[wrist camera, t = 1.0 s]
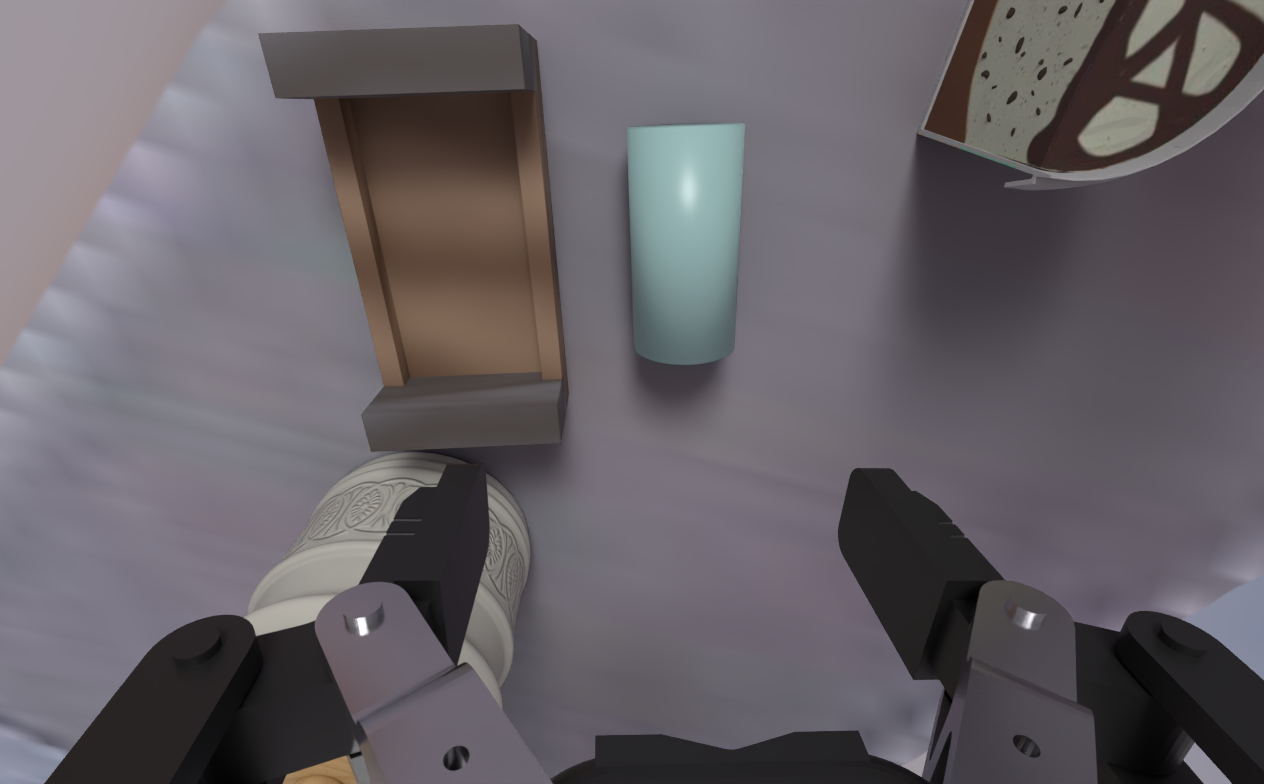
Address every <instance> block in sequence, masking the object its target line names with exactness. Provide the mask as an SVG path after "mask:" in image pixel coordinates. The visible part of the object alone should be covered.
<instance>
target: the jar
mask: <svg viewBox="0 0 1264 784" xmlns="http://www.w3.org/2000/svg"><path fill="white" fill-rule="evenodd" d="M449 463H457V464H469V463H467V462H464V461H462V460H459V459H456V458H453V457H449V456H445V455H440V454H434V453H426V452H404V453H396V454H391V455H386V456H382V457H379V458H376V459H373V460H371V461H369V462H367V463H365V464H363V465H361V466H359V467H358V468H356V469H355V470H353V471H352V472H351V473H350V474H348V475H347V476H346V477H344V478H343V479H341V480H340V481H339V482H338V483H336V484H335V485H334V486H333V487H332V488H331V489H330V490H329V491H328V492H327V494H326V495H325V496H324V498H323V499H322V500H321V501H320V503H319V504H318V505H317V507H316V508H315V510H314V512H313V514H312V515H311V518H310V520H309V523H308V525H307V526H306V528H305V529H304V530H303V532H302V533H301V534H300V536H299V537H298V539H297V540H296V541H295V543H294V544H293V545H292V547H291V548H290V550H289V551H288V552H287V554H286V555H285V556H284V558H283V559H282V560H281V562H280V563H279V564H278V565H277V566H275V567H274V568H273V569H272V570H271V571H270V572H269V573H268V574H267V575H266V576H265V577H264V578H263V579H262V580H261V582H260V583H259V584H258V586H257V587H256V589H255V591H254V593H253V595H252V597H251V600H250V603H249V606H248V611H247V615H246V616H244V617H243V618H245V619H247V620H248V621H250V623H251V624H252V625H253V627H254V630H255V634H256V636H258V635H262V634H267V633H271V632H275V631H279V630H283V629H287V628H292V627H296V626H300V625H303V624H307V623H310V622H312V621H315V620H316V618H317V616H318V614H319V612H320V610H321V609H322V608H323V607H324V605H325V604H326V603H327V602H328V601H330V600H331V599H332V598H333V597H335V596H336V595H338V594H339V593H341V592H343V591H345V590H347V589H349V588H351V587H354V586H357V585H358V584H359V582H360V580H361V578H362V577H363V575H364V573H365V571H366V569H367V567H368V565H369V563H370V562H371V560H372V558H373V556H374V554H375V552H376V550H377V548H378V547H379V545H380V543H381V541H382V539H383V537H384V536H386V532H387V530H388V528H389V526H390V524H391V522H392V521H394V517H395V515H396V513H397V511H398V509H399V507H400V505H401V503H402V501H404V500H405V499H406V498H407V497H408V496H410V495H411V494H412V493H413V492H415V491H416V490H417V489H418V488H420V487H437V485H438V482H439V480H440V478H441V476H442V474H443V471H444V469H445V467H446V465H447V464H449ZM486 480H487V493H488V507H489V521H490V537H489V547H488V553H487V557H486V560H485V564H484V568H483V572H482V575H481V579H480V583H479V587H478V590H477V594H476V598H475V601H474V605H473V609H472V613H471V616H470V620H469V624H468V628H467V631H466V635H465V639H464V643H463V646H462V650H461V654H460V658H459V661H458V665H460V664H461V663H463V662H466V663H468V664H470V665H471V666H472V667H473V668H474V670H475V671H476V672H477V674H478V675H479V677H480V678H481V680H482V681H483V683H484V684H485V685H486V687H487V688H488V690H489V691H490V693H491V694H492V696H493V697H494V699H495V700H496V701H497V703H498V704H499V706H500V707H501V709H502V710H503V700H502V694H501V690H500V687H501V686H502V684H503V683H504V681H505V680H506V678H507V676H508V674H509V671H510V668H511V665H512V661H513V655H514V639H513V636H514V630H515V625H516V620H517V614H518V609H519V603H520V598H521V593H522V591H523V589H524V587H525V584H526V581H527V577H528V571H529V565H530V555H531V554H530V543H529V534H528V528H527V524H526V520H525V517H524V515H523V513H522V511H521V509H520V507H519V505H518V503H517V502H516V500H515V499H514V498H513V496H512V495H511V494H510V493H509V492H508V490H507V489H506V488H505V487H504V486H503V485H502V484H500V483H499V482H498V481H497V480H496V479H494V478H493V477H492V476H490V475H489V474H487V473H486ZM458 665H457V666H458ZM283 784H357V782H356V780H355V777H354V775H353V772H352V770H351V767H350V765H349V762H348V760H347V757H346V756H343V757H340V758H337V759H334V760H331V761H328V762H325V763H321V764H318V765H315V766H312V767H309V768H306V769H303V770H300V771H297V772H294V773H290V774H287V775H286V777H285V779H284V782H283Z"/></svg>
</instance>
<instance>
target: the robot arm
mask: <svg viewBox="0 0 1264 784" xmlns="http://www.w3.org/2000/svg"><path fill="white" fill-rule="evenodd" d="M489 537H490V521H489V507H488V493H487V480H486V470H485V466H484V464H457V463H449V464H447V465H446V467H445V469H444V471H443V474H442V476H441V478H440V480H439V482H438V485H437V487H420V488H418V489H417V490H416V491H415V492H413V493H412V494H411V495H410V496H408V497H407V498H406V499H405V500H404V501H402V503H401V505H400V507H399V509H398V511H397V513H396V515H395V517H394V521H392V522H391V524H390V526H389V528H388V530H387V532H386V536H384V537H383V539H382V541H381V543H380V545H379V547H378V548H377V550H376V552H375V554H374V556H373V558H372V560H371V562H370V563H369V565H368V567H367V569H366V571H365V573H364V575H363V577H362V578H361V580H360V582H359V584H358V585H357V586H354V587H351V588H349V589H347V590H345V591H343V592H341V593H339V594H338V595H336V596H335V597H333V598H332V599H331V600H330V601H328V602H327V603H326V604H325V605H324V607H323V608H322V609H321V610H320V612H319V614H318V616H317V618H316V620H315V621H312V622H310V623H307V624H303V625H300V626H296V627H292V628H287V629H283V630H279V631H275V632H271V633H267V634H262V635H258V636H256V634H255V630H254V627H253V625H252V624H251V623H250V621H248V620H247V619H245V618H243V617H240V616H235V615H218V616H212V617H207V618H203V619H200V620H197V621H194V622H192V623H189V624H187V625H185V626H183V627H181V628H179V629H177V630H175V631H173V632H172V633H170V634H168V635H167V636H166V637H164V638H163V639H162V640H160V641H159V642H158V643H157V644H156V645H154V646H153V647H152V648H151V649H150V651H149V652H148V653H147V654H146V655H145V656H144V658H143V659H142V660H141V662H140V663H139V664H138V665H137V667H136V668H135V669H134V670H133V672H132V673H131V674H130V675H129V677H128V678H127V679H126V681H125V682H124V683H123V684H122V686H121V687H120V688H119V689H118V691H117V692H116V693H115V694H114V696H113V697H112V698H111V700H110V701H109V702H108V703H107V705H106V706H105V707H104V708H103V710H102V711H101V712H100V714H99V715H98V716H97V717H96V719H95V720H94V721H93V722H92V724H91V725H90V726H89V727H88V729H87V730H86V731H85V733H84V734H83V735H82V736H81V738H80V739H79V740H78V741H77V743H76V744H75V745H74V747H73V748H72V749H71V750H70V752H69V753H68V754H67V755H66V757H65V758H64V759H63V760H62V762H61V763H60V764H59V766H58V767H57V768H56V769H55V771H54V772H53V773H52V774H51V776H50V777H49V778H48V779H47V781H46V782H45V783H44V784H283V782H284V779H285V777H286V775H287V774H290V773H294V772H297V771H300V770H303V769H306V768H309V767H312V766H315V765H318V764H321V763H325V762H328V761H331V760H334V759H337V758H340V757H343V756H346V757H347V760H348V762H349V765H350V767H351V770H352V772H353V775H354V777H355V780H356V782H357V784H1203V783H1202V781H1201V780H1200V779H1199V778H1198V777H1197V776H1196V774H1195V773H1194V772H1193V771H1192V770H1191V769H1190V767H1189V766H1188V765H1187V764H1186V763H1185V762H1184V760H1183V759H1184V758H1185V756H1186V755H1187V753H1188V752H1189V750H1190V748H1191V747H1192V745H1193V744H1194V742H1195V743H1196V744H1197V745H1198V746H1199V747H1200V748H1201V749H1202V750H1203V752H1204V753H1205V754H1206V755H1207V756H1208V757H1209V758H1210V759H1211V760H1212V762H1213V763H1214V764H1215V765H1216V766H1217V767H1218V768H1219V769H1220V770H1221V771H1222V773H1223V774H1224V775H1225V776H1226V777H1227V778H1228V779H1229V780H1230V782H1231V783H1232V784H1264V680H1263V679H1262V678H1260V677H1259V676H1258V675H1257V674H1256V673H1255V672H1254V671H1252V670H1251V669H1250V668H1249V667H1248V666H1247V665H1246V664H1244V663H1243V662H1242V661H1241V660H1240V659H1239V658H1238V657H1237V656H1235V655H1234V654H1233V653H1232V652H1231V651H1230V650H1229V649H1228V648H1226V647H1225V646H1224V645H1223V644H1222V643H1220V642H1219V641H1218V640H1217V639H1215V638H1214V637H1212V636H1211V635H1210V634H1208V633H1206V632H1205V631H1203V630H1201V629H1200V628H1198V627H1196V626H1194V625H1192V624H1190V623H1188V622H1185V621H1183V620H1181V619H1178V618H1176V617H1173V616H1170V615H1166V614H1163V613H1158V612H1152V611H1138V612H1134V613H1132V614H1130V615H1129V616H1128V618H1127V619H1126V621H1125V623H1124V625H1123V627H1122V629H1121V631H1120V632H1118V631H1113V630H1109V629H1104V628H1100V627H1095V626H1091V625H1086V624H1082V623H1078V622H1073V619H1072V617H1071V616H1070V615H1069V613H1068V612H1067V611H1066V610H1065V609H1064V608H1063V607H1062V606H1061V605H1060V604H1059V603H1058V602H1057V601H1055V600H1054V599H1052V598H1051V597H1049V596H1048V595H1046V594H1044V593H1043V592H1041V591H1039V590H1037V589H1035V588H1032V587H1030V586H1027V585H1024V584H1021V583H1017V582H1013V581H1006V580H1004V578H1003V577H1002V576H1001V575H1000V574H999V573H998V572H997V571H996V569H995V568H994V567H993V566H992V565H991V564H990V563H989V562H988V561H987V559H986V558H985V557H984V556H983V555H982V554H981V553H980V552H979V550H978V549H977V548H976V547H975V546H974V545H973V544H972V543H971V542H970V540H969V539H968V538H964V534H963V533H962V532H961V530H960V529H959V528H958V527H957V526H956V525H954V524H952V520H951V519H950V518H949V517H948V516H947V515H946V514H945V513H944V511H943V510H942V509H941V508H940V507H939V506H938V505H937V504H935V503H934V502H932V501H931V500H929V499H928V498H926V497H924V496H923V495H921V494H920V493H918V492H917V491H911V490H910V489H909V488H908V486H907V485H906V484H905V483H904V482H903V481H902V479H901V478H900V477H899V476H898V475H897V474H896V472H895V471H894V470H892V469H889V468H856V469H854V470H853V471H852V473H851V475H850V478H849V483H848V487H847V491H846V496H845V500H844V505H843V509H842V513H841V518H840V522H839V527H838V540H839V546H840V550H841V552H842V555H843V557H844V558H845V560H846V562H847V564H848V565H849V567H850V569H851V571H852V572H853V574H854V576H855V578H856V579H857V581H858V583H859V585H860V587H861V588H862V590H863V592H864V594H865V595H866V597H867V599H868V601H869V602H870V604H871V606H872V608H873V609H874V611H875V613H876V615H877V616H878V618H879V620H880V622H881V624H882V625H883V627H884V629H885V631H886V632H887V634H888V636H889V638H890V639H891V641H892V643H893V645H894V646H895V648H896V650H897V652H898V653H899V655H900V657H901V659H902V661H903V662H904V664H905V666H906V668H907V669H908V671H909V673H910V675H911V676H912V678H913V680H934V679H939V680H940V681H941V683H942V684H943V686H944V689H943V692H942V695H941V697H940V700H939V704H938V708H937V713H936V717H935V721H934V726H933V730H932V735H931V739H930V744H929V748H928V752H927V757H926V761H925V766H924V771H923V774H922V777H920V776H918V775H917V774H915V773H913V772H911V771H909V770H908V769H906V768H903V767H901V766H899V765H897V764H895V763H893V762H890V761H887V760H884V759H882V758H879V757H876V756H872V755H868V752H867V750H866V748H865V745H864V743H863V741H862V738H861V736H860V734H859V731H817V732H793V733H790V734H787V735H783V736H780V737H777V738H773V739H770V740H767V741H763V742H760V743H757V744H753V745H750V746H747V747H743V748H740V749H736V750H728V749H723V748H718V747H714V746H710V745H705V744H701V743H697V742H692V741H688V740H683V739H679V738H675V737H670V736H666V735H662V734H658V735H606V736H596V741H595V759H592V760H588V761H585V762H582V763H580V764H577V765H575V766H573V767H571V768H568V769H566V770H565V771H563V772H561V773H560V774H558V775H556V776H555V777H553V778H551V779H549V777H548V776H547V774H546V773H545V771H544V770H543V768H542V767H541V766H540V764H539V763H538V761H537V760H536V758H535V757H534V755H533V754H532V752H531V751H530V750H529V748H528V747H527V745H526V744H525V742H524V741H523V739H522V738H521V736H520V735H519V734H518V732H517V731H516V729H515V728H514V726H513V725H512V723H511V722H510V720H509V719H508V717H507V716H506V715H505V713H504V712H503V710H502V709H501V707H500V706H499V704H498V703H497V701H496V700H495V699H494V697H493V696H492V694H491V693H490V691H489V690H488V688H487V687H486V685H485V684H484V683H483V681H482V680H481V678H480V677H479V675H478V674H477V672H476V671H475V670H474V668H473V667H472V666H471V665H470V664H468V663H466V662H463V663H461V664H460V665H458V661H459V658H460V654H461V650H462V646H463V643H464V639H465V635H466V631H467V628H468V624H469V620H470V616H471V613H472V609H473V605H474V601H475V598H476V594H477V590H478V587H479V583H480V579H481V575H482V572H483V568H484V564H485V560H486V557H487V553H488V547H489ZM457 665H458V666H457Z"/></svg>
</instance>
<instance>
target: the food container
mask: <svg viewBox="0 0 1264 784" xmlns="http://www.w3.org/2000/svg"><path fill="white" fill-rule="evenodd" d="M1263 90H1264V0H968V3H967V6H966V8H965V11H964V13H963V16H962V18H961V21H960V24H959V26H958V29H957V31H956V34H955V36H954V39H953V42H952V44H951V47H950V49H949V52H948V54H947V57H946V60H945V62H944V65H943V67H942V70H941V72H940V75H939V78H938V80H937V83H936V85H935V88H934V90H933V93H932V96H931V98H930V101H929V103H928V106H927V108H926V111H925V113H924V116H923V119H922V121H921V124H920V126H919V129H918V131H917V134H920V135H922V136H925V137H928V138H931V139H934V140H936V141H939V142H942V143H945V144H948V145H950V146H953V147H956V148H959V149H962V150H965V151H967V152H970V153H973V154H976V155H979V156H981V157H984V158H987V159H990V160H993V161H995V162H998V163H1001V164H1004V165H1007V166H1010V167H1012V168H1015V169H1018V170H1021V171H1024V172H1026V173H1029V174H1032V175H1033V177H1032V179H1027V180H1020V181H1013V182H1006V183H1005V185H1004V187H1006V188H1014V189H1021V190H1055V189H1064V188H1073V187H1082V186H1088V185H1094V184H1099V183H1104V182H1110V181H1114V180H1117V179H1120V178H1123V177H1126V176H1129V175H1132V174H1135V173H1138V172H1141V171H1143V170H1145V169H1147V168H1150V167H1153V166H1156V165H1158V164H1160V163H1162V162H1164V161H1166V160H1168V159H1170V158H1172V157H1174V156H1177V155H1179V154H1181V153H1183V152H1185V151H1187V150H1188V149H1190V148H1191V147H1193V146H1194V145H1196V144H1198V143H1199V142H1201V141H1202V140H1204V139H1205V138H1207V137H1208V136H1210V135H1212V134H1213V133H1215V132H1216V131H1217V130H1218V129H1220V128H1221V127H1222V126H1223V125H1225V124H1226V123H1227V122H1228V121H1230V120H1231V119H1232V118H1233V117H1235V116H1236V115H1237V114H1238V113H1240V112H1241V111H1242V110H1243V109H1244V108H1245V107H1246V106H1247V105H1248V104H1249V103H1250V102H1251V101H1252V100H1253V99H1254V98H1255V97H1257V96H1258V95H1259V94H1260V93H1261V92H1262V91H1263Z"/></svg>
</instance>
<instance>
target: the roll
mask: <svg viewBox="0 0 1264 784" xmlns="http://www.w3.org/2000/svg"><path fill="white" fill-rule="evenodd" d="M744 137H745V123H694V124H667V125H648V126H634V127H627V153H628V182H629V212H630V241H631V270H632V300H633V329H634V349H635V351H636V352H637V353H638V354H639V355H641V356H642V357H644V358H646V359H649V360H652V361H655V362H660V363H665V364H674V365H694V364H703V363H709V362H713V361H717V360H719V359H722V358H724V357H726V356H728V355H729V354H730V353H732V351H733V350H734V347H735V326H736V305H737V284H738V263H739V242H740V221H741V200H742V179H743V158H744Z"/></svg>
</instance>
